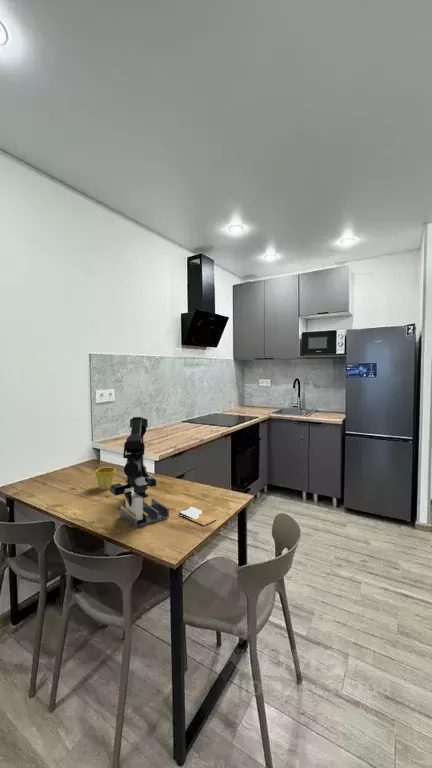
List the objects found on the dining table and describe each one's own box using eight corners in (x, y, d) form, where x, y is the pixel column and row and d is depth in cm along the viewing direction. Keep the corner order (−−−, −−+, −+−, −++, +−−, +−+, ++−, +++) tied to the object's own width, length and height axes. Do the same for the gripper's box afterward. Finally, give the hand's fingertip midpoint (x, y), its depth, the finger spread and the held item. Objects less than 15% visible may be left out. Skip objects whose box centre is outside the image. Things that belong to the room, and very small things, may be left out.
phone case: (218, 520, 138) (191, 509, 148) (218, 516, 138) (191, 505, 148) (204, 528, 131) (177, 515, 141) (204, 524, 131) (177, 512, 141)
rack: (120, 516, 139) (120, 506, 139) (153, 506, 149) (153, 497, 149) (134, 528, 128) (134, 518, 128) (168, 517, 139) (169, 507, 139)
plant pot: (118, 484, 178) (118, 467, 178) (110, 491, 168) (110, 473, 167) (100, 483, 179) (100, 466, 179) (91, 490, 169) (91, 472, 168)
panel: (125, 512, 139) (125, 492, 138) (132, 510, 140) (132, 490, 140) (136, 521, 131) (136, 499, 130) (142, 519, 133) (142, 497, 132)
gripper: (120, 478, 123) (120, 518, 123) (163, 469, 135) (162, 505, 135) (109, 471, 131) (109, 508, 132) (150, 463, 143) (150, 497, 144)
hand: (134, 505), depth 136 cm, fingers closed on panel, 3 cm apart
